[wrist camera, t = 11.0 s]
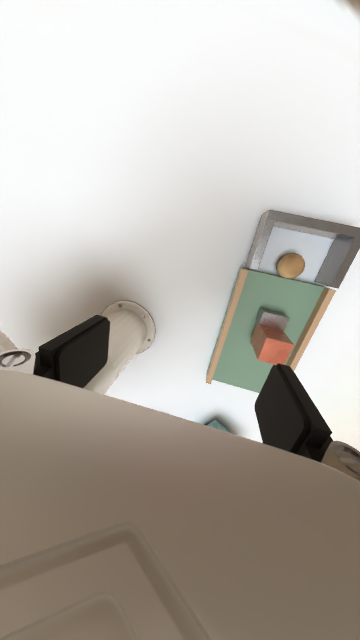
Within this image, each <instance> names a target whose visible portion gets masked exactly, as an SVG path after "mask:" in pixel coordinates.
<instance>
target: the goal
mask: <svg viewBox="0 0 360 640" xmlns="http://www.w3.org/2000/svg"><path fill="white" fill-rule="evenodd" d="M273 226H274V227H279V228H284V229H289V230H294V231H299V232H303V233H308V234H313V235H318V236H323V237H328V238H332V239H334V241H333V243H332V245H331V247H330V250H329V252H328V254H327V256H326V258H325V260H324V262H323V264H322V267H321V269H320V271H319V273H318V275H317V277H316V279H315V282H318V283H321V284H324V285H327V286H330V287H334V288H339V286H340V284H341V282H342V281H343V279H344V277H345V275H346V273H347V271H348V269H349V267H350V265H351V264H352V262H353V260H354V258H355V256H356V254H357V252H358V250H359V248H360V228H359V227H354V226H349V225H343V224H338V223H333V222H328V221H323V220H318V219H313V218H308V217H303V216H298V215H293V214H288V213H283V212H278V211H273V210H269V211H267V212H266V213H264V214H263V215H262V216H261V219H260V222H259V225H258V228H257V231H256V235H255V238H254V241H253V244H252V247H251V250H250V253H249V256H248V259H247V262H246V265H245V266H247V267H249V268H251V269H255V270H258V267H259V264H260V262H261V259H262V256H263V253H264V250H265V247H266V245H267V242H268V239H269V236H270V233H271V230H272V227H273Z"/></svg>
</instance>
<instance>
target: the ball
mask: <svg viewBox="0 0 360 640" xmlns="http://www.w3.org/2000/svg"><path fill="white" fill-rule="evenodd" d="M304 267H305V262H304V259H303V258H302V257H301V256H300V255H298V254H294V253H292V254H287V255H285V256H283V257H282V258H281V259H280V260H279V262H278V264H277V271H278V273H279V275H280V276H282V277H284V278H287V279H291V278H295V277H297V276H299V275H300V274H301V273H302V272H303V270H304Z"/></svg>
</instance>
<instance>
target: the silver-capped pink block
mask: <svg viewBox="0 0 360 640" xmlns="http://www.w3.org/2000/svg"><path fill="white" fill-rule="evenodd" d="M289 319H290V318H289V317H288V316H287V315H286V314H285V313H282V312H278V311H274V310H269V309H265V308H261V307H260V308H259V311H258V314H257V316H256V321H257V324H256V326H255V329H254V332H253V334H252V337H251V339H250V341H251V342H250V344H251V346H252V347H253V349H254V352H255V355H256V357H257V360H259V361H263V362H266V363H270V364H274V365H277V364H278V363H279V364H283V365H285V363H286V361H287V359H288V357H289V355H290V353H291V351H292V349H293V347H294V344H293V342H292V341H291V340H290V339H289V338H288V336H287V335H286V334H285V333H284V330H285V328H286V326H287V324H288V322H289Z"/></svg>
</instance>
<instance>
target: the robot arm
mask: <svg viewBox="0 0 360 640" xmlns="http://www.w3.org/2000/svg"><path fill="white" fill-rule="evenodd" d="M121 304H122V305H121ZM144 314H145V315H146V316H145V315H144ZM154 337H155V326H154V322H153V320H152V318H151V316H150V315H149V313H148V312H147V311H146V310H145V309H144V308H143V307H141V306H140V305H138V304H136V303H133V302H129V301H119V302H116V303H113V304H111V305H109V306H108V307H107V308H106V309H105V310H104V312H103V313H102V316H100V315H95V316H94V317H92V318H90V319H88V320H86V321H85V322H83V323H81V324H79V325H77V326H76V327H74V328H72V329H70V330H68V331H67V332H65V333H63V334H61V335H59V336H58V337H56V338H54V339H52V340H50V341H49V342H47V343H45V344H43V345H41V346H40V347H39V352H37V353H34V352H33V351H31V350H27V349H18V348H17V347H16V346H15V345H14V344H13V343H12V342H11V340H10V339H9V338H8V337H7V336H6V335H5V334H4V333H3V332H2V331H1V330H0V640H360V452H359V451H358V450H357V449H355V448H353V447H352V446H350V445H348V444H346V443H343V442H340V441H333V440H332V438H331V437H330V435H331V433H332V431H331V430H330V428H329V427H328V425H327V424H326V422H325V420H324V419H323V417H322V416H321V414H320V413H319V411H318V409H317V408H316V406H315V405H314V403H313V401H312V400H311V398H310V397H309V395H308V394H307V392H306V390H305V389H304V387H303V386H302V384H301V382H300V381H299V379H298V378H297V376H296V375H295V373H294V371H293V370H292V368H291V367H290V366H287V365H283V364H279V363H278V364H277V365H273V366H272V368H271V370H270V372H269V374H268V376H267V379H266V381H265V383H264V385H263V387H262V389H261V391H260V394H259V396H258V398H257V400H256V402H255V412H256V416H257V420H258V424H259V428H260V432H261V437H262V441H263V443H260V442H257V441H253V440H250V439H247V438H244V437H241V436H237V435H234V434H231V433H228V432H225V431H221V430H218V429H215V428H212V427H208V426H205V425H202V424H199V423H195V422H192V421H189V420H186V419H182V418H179V417H176V416H173V415H169V414H166V413H163V412H159V411H156V410H153V409H150V408H146V407H143V406H140V405H136V404H133V403H130V402H126V401H123V400H120V399H117V398H113V397H110V396H107V395H104V394H105V392H106V391H107V390H108V388H109V387H110V386H111V385H112V383H113V382H114V381H115V379H116V378H117V377H118V375H119V374H120V373H121V372H122V370H123V369H124V368H125V366H126V365H127V364H128V362H129V361H130V360H131V358H132V357H133V356H134V355H135V354H139V353H142V352H143V351H145V350H146V349H148V348H149V346H150V345H151V343H152V342H153V340H154Z"/></svg>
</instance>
